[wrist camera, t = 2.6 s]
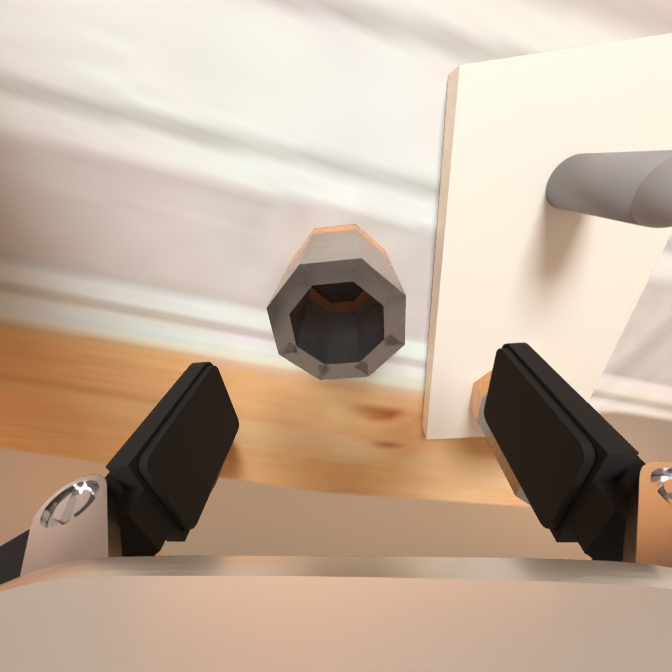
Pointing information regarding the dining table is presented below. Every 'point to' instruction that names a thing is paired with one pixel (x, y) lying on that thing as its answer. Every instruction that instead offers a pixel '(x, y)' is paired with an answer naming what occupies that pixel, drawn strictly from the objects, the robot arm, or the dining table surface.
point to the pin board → (546, 214)
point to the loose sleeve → (338, 306)
